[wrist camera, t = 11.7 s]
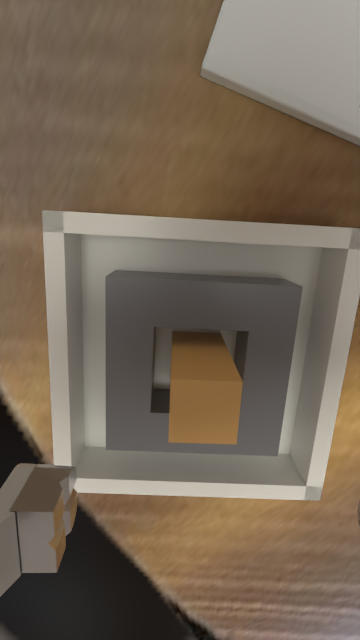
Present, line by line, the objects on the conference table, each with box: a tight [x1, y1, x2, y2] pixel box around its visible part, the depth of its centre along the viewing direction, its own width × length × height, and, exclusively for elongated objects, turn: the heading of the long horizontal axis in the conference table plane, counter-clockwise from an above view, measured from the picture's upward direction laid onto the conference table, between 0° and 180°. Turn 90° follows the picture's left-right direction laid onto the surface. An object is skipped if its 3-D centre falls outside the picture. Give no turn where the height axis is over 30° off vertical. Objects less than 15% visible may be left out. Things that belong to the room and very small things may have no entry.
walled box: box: [42, 210, 360, 501], centre depth 20 cm, size 16×16×4 cm
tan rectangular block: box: [168, 331, 243, 445], centre depth 18 cm, size 3×3×7 cm
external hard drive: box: [200, 0, 360, 146], centre depth 17 cm, size 2×8×12 cm
